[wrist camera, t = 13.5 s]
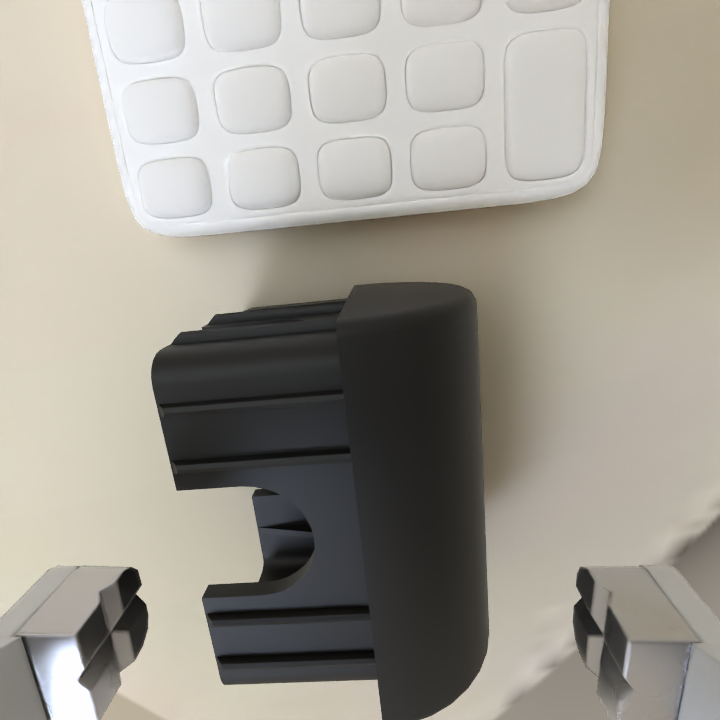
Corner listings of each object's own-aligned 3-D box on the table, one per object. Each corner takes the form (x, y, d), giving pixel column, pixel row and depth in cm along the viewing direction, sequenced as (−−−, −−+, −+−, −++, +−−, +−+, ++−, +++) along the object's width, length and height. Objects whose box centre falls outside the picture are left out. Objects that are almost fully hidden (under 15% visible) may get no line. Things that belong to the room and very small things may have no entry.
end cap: (465, 542, 17) (515, 730, 11) (279, 553, 18) (219, 737, 11) (452, 272, 15) (506, 306, 8) (234, 293, 15) (123, 342, 9)
